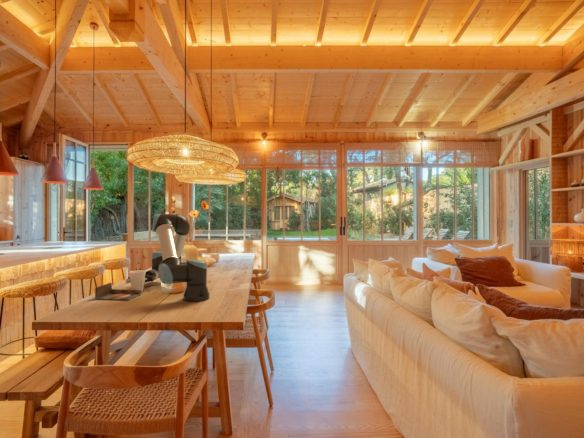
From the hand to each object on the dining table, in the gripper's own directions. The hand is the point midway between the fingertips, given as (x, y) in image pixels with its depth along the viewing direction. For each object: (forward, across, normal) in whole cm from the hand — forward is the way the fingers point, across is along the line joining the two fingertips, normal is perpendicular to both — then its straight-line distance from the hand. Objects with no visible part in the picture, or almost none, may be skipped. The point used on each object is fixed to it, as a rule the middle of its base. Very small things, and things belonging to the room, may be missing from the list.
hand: (134, 281), depth 210 cm
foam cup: (-4, 0, -7) cm, 8 cm away
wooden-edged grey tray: (+11, +3, -7) cm, 14 cm away
